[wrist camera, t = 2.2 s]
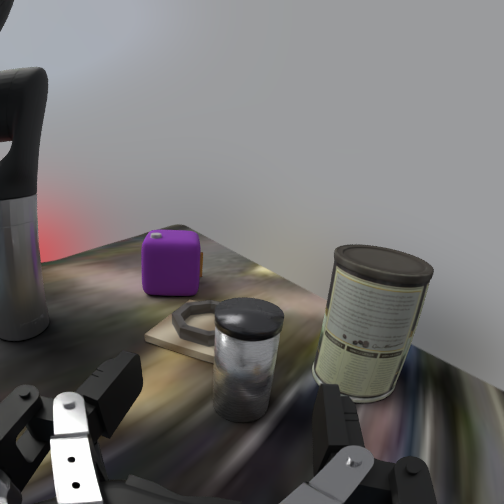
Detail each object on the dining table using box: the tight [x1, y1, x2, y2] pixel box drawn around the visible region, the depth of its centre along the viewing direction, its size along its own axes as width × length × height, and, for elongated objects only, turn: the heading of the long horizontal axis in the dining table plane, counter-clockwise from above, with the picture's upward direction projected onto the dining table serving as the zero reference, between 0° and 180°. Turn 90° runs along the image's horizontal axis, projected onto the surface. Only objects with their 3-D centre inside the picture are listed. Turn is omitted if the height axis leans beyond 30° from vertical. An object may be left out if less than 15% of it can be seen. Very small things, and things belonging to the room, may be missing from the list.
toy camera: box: [142, 230, 203, 296], centre depth 52 cm, size 11×14×10 cm
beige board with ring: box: [145, 300, 220, 363], centre depth 38 cm, size 12×12×2 cm
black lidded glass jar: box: [213, 298, 284, 423], centre depth 25 cm, size 5×5×10 cm
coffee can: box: [312, 245, 434, 403], centre depth 29 cm, size 10×10×14 cm
